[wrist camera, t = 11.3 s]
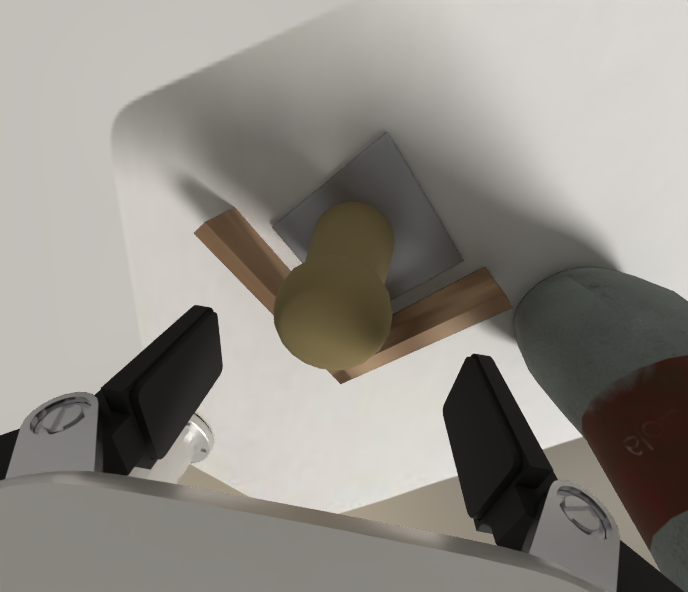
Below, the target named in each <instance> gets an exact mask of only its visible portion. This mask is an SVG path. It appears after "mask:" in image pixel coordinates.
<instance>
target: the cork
mask: <svg viewBox="0 0 688 592" xmlns="http://www.w3.org/2000/svg"><path fill="white" fill-rule="evenodd" d="M394 244H395V239H394V234H393V229H392V227H391V225H390V223H389V221H388V220H387V218H386V216H384V215H383V214H382V213H381V212H380V211H379V210H378V209H377V208H375V207H373V206H371V205H368V204H366V203H364V202H355V201H347V202H343V203H339V204H336V205H334V206H333V207H331V208H330V209H328V210H326V211H325V212H324V213H323V215H322V216H321V217H320V218H319V220H318V221H317V223H316V226H315V229H314V232H313V235H312V239H311V242H310V246H309V249H308V253H307V257H306V260H305V262H304V263H302V264H301V265H299V266H297V267H295V268H294V269H293V270H292V271H291V272H290V274H289V275H288V276H287V277H286V279H285V280H284V281H283V282H282V284H281V285H280V287H279V289H278V292H277V296H276V299H275V302H274V308H273V313H274V325H275V327H276V330H277V332H278V334H279V337H280V339H281V341H282V343H283V344H284V346H285V347H286V348H287V349H288V350H289V351H290V352H291V354H292V355H294V356H295V357H297V358H298V359H300V360H301V361H303V362H304V363H306V364H309V365H312V366H314V367H317V368H321V369H328V370H343V369H350V368H353V367H355V366H358V365H361V364H363V363H364V362H366V361H367V360H368V359H369V358H371V357H372V356H373V355H375V354H376V353H377V352H378V351H379V350H380V349H381V347H382V346H383V344H384V342H385V341H386V339H387V337H388V335H389V332H390V327H391V322H392V316H393V315H392V306H391V301H390V296H389V292H388V291H387V289H386V287H385V286H384V283H385V280H386V276H387V273H388V269H389V266H390V262H391V259H392V255H393V250H394Z"/></svg>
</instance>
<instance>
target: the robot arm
mask: <svg viewBox="0 0 688 592" xmlns="http://www.w3.org/2000/svg"><path fill="white" fill-rule="evenodd" d="M222 367H223V364H222V355H221V345H220V335H219V326H218V316H217V313H215V312H213V309H212V308H210V307H204V306H198V305H194V306H193V307H192V308H190V309H189V310H188V311H187V312H186V313H185V314H184V315H183V316H181V317H180V318H179V319H178V320H177V321H176V322H175V323H174V324H172V325H171V326H170V327H169V328H168V329H167V330H166V331H165V332H163V333H162V334H161V335H160V336H159V337H158V338H157V339H155V340H154V341H153V342H152V343H151V344H150V345H149V346H148V347H146V348H145V349H144V350H143V351H142V352H141V353H140V354H139V355H137V357H135V358H134V359H133V360H132V361H131V362H130V363H128V364H127V365H126V366H125V367H124V368H123V369H122V370H121V371H119V372H118V373H117V374H116V375H115V376H114V377H113V378H111V379H110V380H109V381H108V382H107V383H106V384H105V385H104V386H103V387H101V390H100V391H99V392H98V393H96V394H95V395H93V394H90V393H87V392H75V393H70V394H65V395H62V396H59V397H56V398H53V399H52V400H50V401H48V402H46V403H44V404H42V405H41V406H39V407H38V408H36V409H35V410H33V411H32V412H31V413H30V414H29V415H28V416H27V417H26V418H25V420H24V422H23V424H22V425H21V427H20V429H18V430H14V431H12V432H9V433H6V434H3V435H0V592H684V591H683V590H682V589H680V588H679V587H678V586H677V585H675V584H674V583H673V582H672V581H670V580H669V579H668V578H667V577H665V576H664V575H663V574H662V573H661V572H659V571H658V570H657V569H655V568H654V567H653V566H652V565H650V564H649V563H648V562H647V561H646V560H644V559H643V558H642V557H641V556H639V555H638V554H637V553H636V552H634V551H633V550H632V549H631V548H630V547H628V546H627V545H626V544H625V543H623V542H622V541H621V540H620V534H619V529H618V526H617V524H616V522H615V520H614V518H613V516H612V515H611V514H610V512H609V511H608V509H607V508H606V507H605V506H604V505H603V504H602V503H601V502H600V500H599V499H598V498H596V497H595V496H594V495H593V494H592V493H590V492H589V491H588V490H587V489H585V488H583V487H582V486H580V485H578V484H576V483H574V482H571V481H568V480H558V479H557V477H556V475H555V474H554V472H553V469H552V467H551V465H550V463H549V461H548V460H547V458H546V456H545V454H544V452H543V450H542V448H541V447H540V445H539V443H538V441H537V439H536V437H535V436H534V434H533V432H532V430H531V428H530V426H529V425H528V423H527V421H526V419H525V417H524V415H523V414H522V412H521V410H520V408H519V406H518V404H517V403H516V401H515V399H514V397H513V395H512V393H511V392H510V390H509V388H508V386H507V384H506V382H505V381H504V379H503V377H502V375H501V373H500V371H499V370H498V368H497V366H496V364H495V362H494V360H493V359H492V357H490V356H485V355H479V354H473V355H471V357H467V358H466V359H465V361H464V363H463V365H462V367H461V370H460V372H459V374H458V376H457V378H456V380H455V382H454V384H453V387H452V389H451V391H450V393H449V395H448V397H447V399H446V401H445V404H444V406H443V417H444V421H445V425H446V429H447V433H448V437H449V441H450V445H451V449H452V453H453V457H454V461H455V465H456V469H457V473H458V477H459V481H460V485H461V489H462V493H463V497H464V501H465V505H466V509H467V512H468V514H469V516H470V517H471V518H473V519H474V523H475V527H476V530H477V531H480V532H485V533H491V534H493V536H494V539H495V542H496V544H497V546H496V545H491V544H487V543H482V542H477V541H472V540H468V539H463V538H459V537H454V536H449V535H444V534H439V533H433V532H428V531H424V530H418V529H413V528H408V527H403V526H398V525H392V524H387V523H382V522H377V521H372V520H367V519H362V518H356V517H350V516H346V515H340V514H335V513H330V512H325V511H319V510H314V509H309V508H303V507H298V506H293V505H287V504H282V503H277V502H271V501H266V500H261V499H255V498H250V497H244V496H238V495H233V494H228V493H223V492H217V491H212V490H206V489H201V488H195V487H190V486H184V485H178V482H179V481H180V479H181V477H182V475H183V474H184V472H185V470H186V469H187V467H188V465H189V464H190V463H196V462H200V461H202V460H204V459H205V458H206V457H207V456H208V455H209V453H210V451H211V450H212V448H213V443H214V441H213V436H212V434H211V432H210V430H209V428H208V427H207V426H206V424H205V423H204V422H203V421H202V420H201V419H200V418H199V417H197V416H196V415H195V414H194V413H195V411H196V410H197V408H198V407H199V405H200V404H201V402H202V401H203V399H204V398H205V397H206V395H207V394H208V392H209V391H210V389H211V388H212V386H213V385H214V383H215V382H216V380H217V379H218V377H219V376H220V374H221V372H222Z"/></svg>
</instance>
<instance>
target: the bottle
mask: <svg viewBox="0 0 688 592" xmlns="http://www.w3.org/2000/svg"><path fill="white" fill-rule="evenodd" d="M514 325H515V331H516V337H517V342H518V346H519V349H520V351H521V353H522V356H523V358H524V360H525V363H526V365H527V367H528V370H529V371H530V373H531V374H532V375H533V377H534V378H535V380H536V381H537V383H538V384H539V385H540V386H541V387H542V389H543V390H544V391H545V392H546V394H547V395H548V396H549V397H550V398H551V400H552V401H553V402H554V403H555V405H556V406H557V407H558V408H559V409H560V411H561V412H562V413H563V414H564V415H565V416H566V417H567V419H568V420H569V421H570V422H571V423H572V424H573V425H574V427H575V428H576V429H577V430H578V431H579V432H580V433H581V435H582V436H583V437H584V438H585V439H586V440H587V442H588V444H589V445H590V447H591V449H592V451H593V453H594V454H595V456H596V458H597V460H598V461H599V463H600V465H601V467H602V468H603V470H604V472H605V473H606V475H607V477H608V479H609V481H610V482H611V484H612V486H613V488H614V489H615V491H616V493H617V494H618V496H619V498H620V500H621V502H622V503H623V505H624V507H625V509H626V510H627V512H628V514H629V515H630V517H631V519H632V521H633V522H634V524H635V526H636V528H637V530H638V531H639V533H640V535H641V537H642V538H643V540H644V542H645V544H646V545H647V547H648V549H649V551H650V552H651V554H652V556H653V558H654V560H655V562H656V564H657V566H658V568H659V569H660V571H661V573H662V574H663V575H664V576H665V577H667V578H668V579H669V580H670V581H672V582H673V583H674V584H675V585H677V586H678V587H679V588H680V589H682V590H683V591H684V592H688V301H686V300H685V299H684V298H682V297H681V296H680V295H678V294H677V293H675V292H674V291H671V290H669V289H666V288H664V287H661V286H659V285H656V284H653V283H651V282H648V281H646V280H643V279H641V278H638V277H636V276H632V275H629V274H625V273H622V272H618V271H615V270H609V269H604V268H599V267H580V268H574V269H570V270H567V271H563V272H559V273H557V274H555V275H553V276H551V277H549V278H547V279H545V280H543V281H541V282H540V283H538V284H537V285H536V286H535V287H534V288H533V289H532V290H530V291H529V292H528V293H527V294H526V295H525V297H524V298H523V300H522V301H521V303H520V304H519V306H518V307H517V310H516V314H515V318H514Z"/></svg>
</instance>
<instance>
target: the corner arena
mask: <svg viewBox="0 0 688 592" xmlns="http://www.w3.org/2000/svg"><path fill="white" fill-rule="evenodd" d="M347 201H355V202H364V203H366V204H368V205H371V206H373V207H375V208H377V209H378V210H379V211H380V212H381V213H382V214H383V215H384V216H386V218H387V220H388V221H389V223H390V225H391V227H392V229H393V234H394V239H395V244H394V250H393V255H392V259H391V262H390V266H389V269H388V273H387V276H386V280H385V283H384V286H385V287H386V289H387V291H388V292H389V296H390V300H392V299H394V298H396V297H398V296H399V295H401V294H403V293H405V292H407V291H409V290H410V289H412V288H414V287H416V286H418V285H420V284H421V283H423V282H425V281H427V280H429V279H431V278H432V277H434V276H436V275H438V274H440V273H442V272H443V271H445V270H447V269H449V268H451V267H453V266H454V265H456V264H458V263H460V262H462V261H463V259H462V257H461V255H460V254H459V252H458V250H457V249H456V247H455V245H454V244H453V242H452V240H451V239H450V237H449V235H448V233H447V232H446V230H445V228H444V227H443V225H442V223H441V222H440V220H439V218H438V217H437V215H436V213H435V211H434V210H433V208H432V206H431V205H430V203H429V201H428V200H427V198H426V196H425V195H424V193H423V191H422V189H421V188H420V186H419V184H418V183H417V181H416V179H415V178H414V176H413V174H412V173H411V171H410V169H409V167H408V166H407V164H406V162H405V161H404V159H403V157H402V156H401V154H400V152H399V151H398V149H397V147H396V145H395V144H394V142H393V140H392V139H391V137H390V135H389V134H388V132H387V133H385V134H384V135H383V136H382V137H381V138H379V139H378V140H377V141H376V142H375V143H373V144H372V145H371V146H370V147H369V148H367V149H366V150H365V151H364V152H363V153H361V154H360V155H359V156H358V157H356V158H355V159H354V160H353V161H352V162H350V163H349V164H348V165H347V166H346V167H344V168H343V169H342V170H341V171H340V172H338V173H337V174H336V175H335V176H333V177H332V178H331V179H330V180H329V181H327V182H326V183H325V184H324V185H323V186H321V187H320V188H319V189H318V190H317V191H315V192H314V193H313V194H312V195H310V196H309V197H308V198H307V199H306V200H304V201H303V202H302V203H301V204H300V205H298V206H297V207H296V208H295V209H294V210H292V211H291V212H290V213H289V214H288V215H286V216H285V217H284V218H283V219H281V220H280V221H279V222H278V223H277V224H275V225H274V226H273V227H272V228H273V229H274V230H275V231H276V232H277V234H278V235H279V236H280V237H281V238H282V239H283V241H284V242H285V243H286V244H287V245H288V247H289V248H290V249H291V250H292V251H293V252H294V254H295V255H296V256H297V257H298V258H299V259H300V261H301V262H302V263H304V262H305V260H306V257H307V253H308V249H309V246H310V242H311V239H312V235H313V232H314V229H315V226H316V223H317V221H318V220H319V218H320V217H321V216H322V215H323V213H324V212H325V211H326V210H328V209H330V208H331V207H333V206H334V205H336V204H339V203H343V202H347ZM194 234H195V235H196V236H197V237H198V238H199V239H200V240H201V241H202V242H203V243H204V244H205V246H206V247H207V248H208V249H209V250H210V251H211V252H212V253H213V254H214V255H215V256H216V257H217V258H218V259H219V260H220V261H221V262H222V263H223V264H224V265H225V266H226V267H227V268H228V269H229V270H230V271H231V272H232V273H233V274H234V275H235V276H236V277H237V278H238V279H239V280H240V281H241V282H242V283H243V284H244V285H245V287H246V288H247V289H248V290H249V291H250V292H251V293H252V294H253V295H254V296H255V297H256V298H257V299H258V300H259V301H260V302H261V303H262V304H263V305H264V306H265V307H266V308H267V309H268V310H269V311H270V312H271V313H272V314H273V315H274V313H273V308H274V302H275V299H276V296H277V292H278V289H279V287H280V285H281V284H282V282H283V281H284V280H285V279H286V277H287V276H288V275H289V274H290V272H291V271H290V270H289V269H288V268H287V266H286V265H285V264H284V263H283V262H282V261H281V260H280V258H279V257H278V256H277V255H276V254H275V253H274V252H273V250H272V249H271V248H270V247H269V246H268V245H267V244H266V243H265V241H264V240H263V239H262V238H261V237H260V236H259V235H258V233H257V232H256V231H255V230H254V229H253V228H252V227H251V225H250V224H249V223H248V222H247V221H246V220H245V219H244V217H243V216H242V215H241V214H240V213H239V212H238V211H237V210H236V208H233V209H231V210H229V211H227V212H225V213H223V214H221V215H219V216H217V217H215V218H213V219H211V220H208V221H206V222H205V223H204V224H203V225H201V226H200V227H199V228H198V229H197V230H196V231H195V232H194ZM511 308H513V307H512V306H511V304H510V302H509V300H508V298H507V297H506V295H505V293H504V292H503V291H502V289H501V288H500V287H499V285H498V284H497V283H496V281H495V280H494V279H493V278H492V276H491V275H490V274H489V272H488V271H487V270H486V268H485V267H484V268H482V269H480V270H478V271H476V272H474V273H472V274H470V275H468V276H466V277H464V278H462V279H460V280H459V281H457V282H455V283H453V284H451V285H449V286H447V287H445V288H443V289H441V290H439V291H437V292H435V293H434V294H432V295H430V296H428V297H426V298H424V299H422V300H420V301H418V302H416V303H414V304H412V305H410V306H409V307H407V308H405V309H403V310H401V311H399V312H397V313H395V314H393V316H392V322H391V327H390V332H389V335H388V337H387V339H386V341H385V342H384V344H383V346H382V347H381V349H380V350H379V351H378V352H377V353H376V354H375V355H373V356H372V357H371V358H369V359H368V360H367V361H366V362H364V363H363V364H361V365H358V366H355V367H353V368H350V369H343V370H328V369H326V370H327V371H328V372H329V373H330V374H331V375H332V376H333V377H334V378H335V379H336V380H337V381H338V382H339V383H340V384H342V383H344V382H347V381H349V380H351V379H353V378H356V377H358V376H360V375H362V374H365V373H367V372H369V371H371V370H374V369H376V368H378V367H380V366H383V365H385V364H387V363H389V362H392V361H394V360H396V359H398V358H401V357H403V356H405V355H407V354H410V353H412V352H414V351H416V350H419V349H421V348H423V347H425V346H428V345H430V344H432V343H434V342H437V341H439V340H441V339H443V338H446V337H448V336H450V335H452V334H455V333H457V332H459V331H461V330H464V329H466V328H468V327H470V326H473V325H475V324H477V323H479V322H482V321H484V320H486V319H488V318H491V317H493V316H495V315H497V314H500V313H502V312H504V311H506V310H509V309H511Z"/></svg>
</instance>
